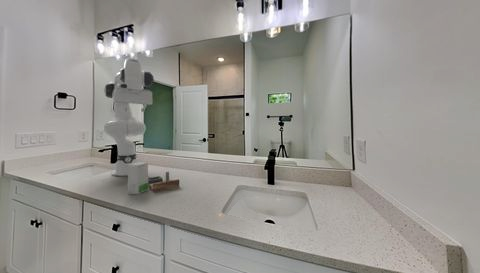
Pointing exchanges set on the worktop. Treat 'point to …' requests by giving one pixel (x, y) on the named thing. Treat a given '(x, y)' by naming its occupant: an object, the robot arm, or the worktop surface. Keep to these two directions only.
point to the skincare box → (137, 177)
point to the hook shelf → (164, 184)
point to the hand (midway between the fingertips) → (134, 111)
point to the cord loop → (154, 180)
